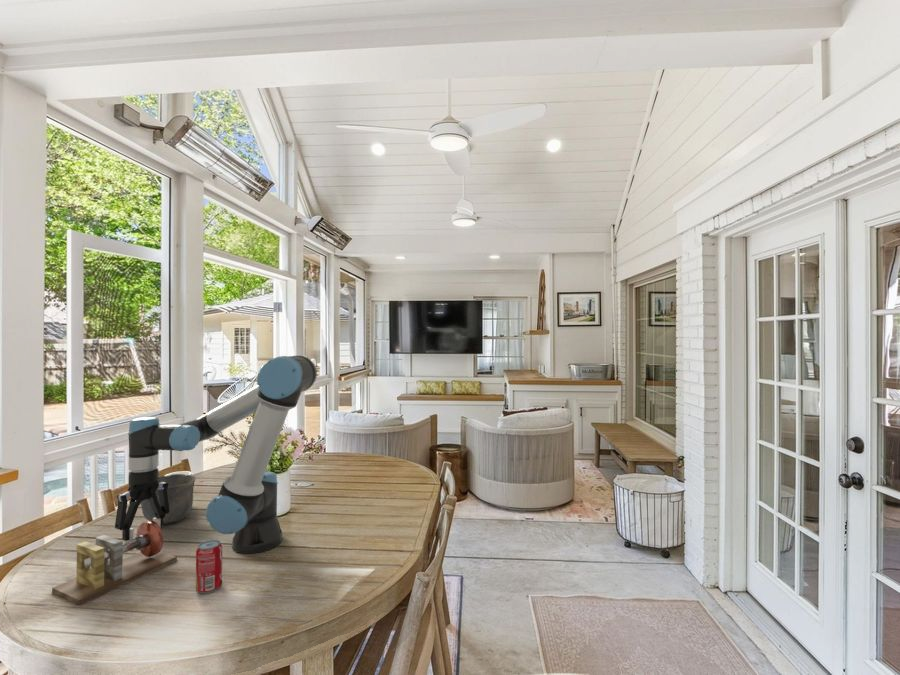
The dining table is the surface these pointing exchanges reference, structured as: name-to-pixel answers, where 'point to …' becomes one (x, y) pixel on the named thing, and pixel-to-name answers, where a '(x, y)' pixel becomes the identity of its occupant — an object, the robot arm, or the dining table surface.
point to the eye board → (127, 573)
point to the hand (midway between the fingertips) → (143, 544)
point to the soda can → (208, 566)
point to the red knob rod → (141, 541)
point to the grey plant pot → (173, 498)
